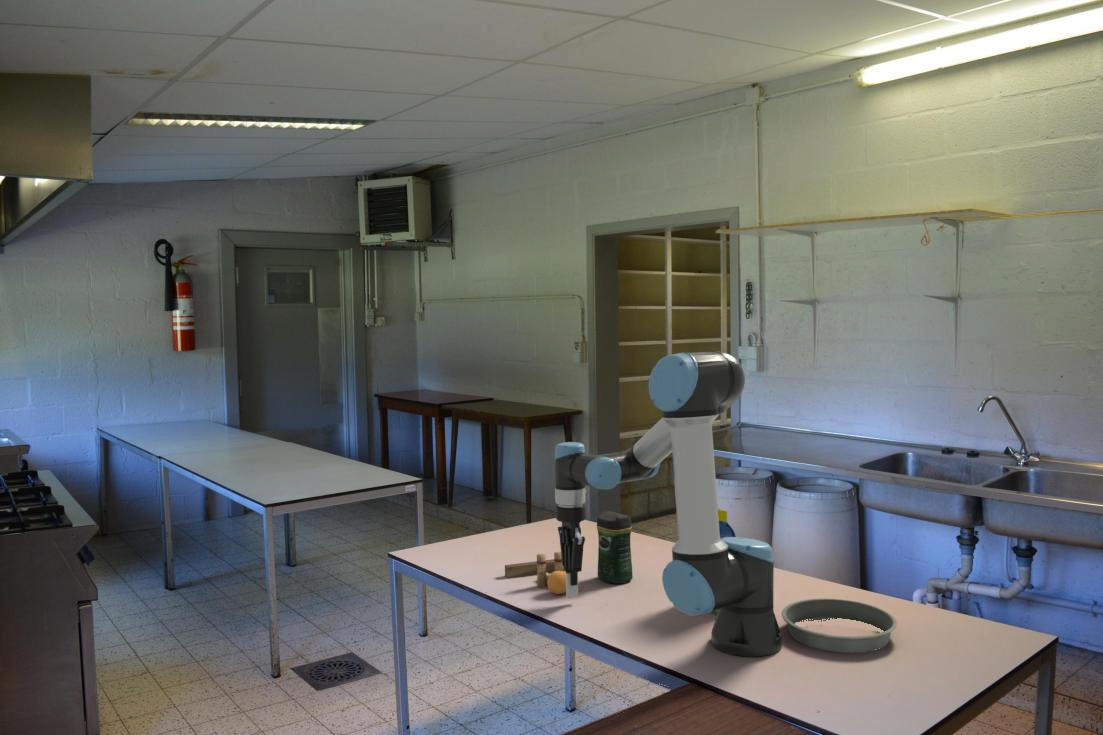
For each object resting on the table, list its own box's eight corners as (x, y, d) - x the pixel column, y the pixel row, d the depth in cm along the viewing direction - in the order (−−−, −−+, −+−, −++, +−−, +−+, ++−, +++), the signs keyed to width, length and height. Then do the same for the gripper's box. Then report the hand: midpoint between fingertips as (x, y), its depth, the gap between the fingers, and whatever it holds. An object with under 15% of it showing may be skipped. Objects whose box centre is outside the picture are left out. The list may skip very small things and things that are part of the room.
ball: (563, 571, 230) (568, 594, 228) (542, 575, 228) (547, 598, 226) (569, 566, 225) (575, 589, 223) (548, 570, 223) (554, 593, 220)
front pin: (557, 578, 230) (547, 569, 238) (549, 580, 229) (538, 571, 237) (558, 587, 230) (547, 578, 238) (549, 589, 229) (539, 580, 237)
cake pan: (760, 625, 201) (760, 606, 201) (845, 610, 210) (845, 592, 209) (828, 665, 178) (828, 643, 178) (922, 646, 187) (922, 626, 187)
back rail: (567, 570, 246) (567, 560, 245) (507, 578, 239) (507, 567, 239) (564, 568, 248) (564, 557, 248) (505, 575, 242) (504, 565, 242)
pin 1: (547, 587, 231) (547, 555, 230) (539, 588, 230) (538, 556, 230) (544, 584, 233) (544, 553, 233) (535, 585, 233) (535, 554, 232)
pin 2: (565, 584, 233) (564, 553, 232) (556, 585, 232) (555, 554, 231) (562, 582, 235) (561, 551, 235) (553, 583, 234) (552, 552, 234)
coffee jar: (637, 580, 235) (636, 513, 234) (615, 586, 230) (614, 518, 229) (614, 572, 243) (613, 507, 242) (592, 578, 238) (591, 511, 237)
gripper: (594, 508, 211) (595, 602, 212) (575, 497, 223) (576, 587, 225) (565, 511, 208) (567, 606, 210) (547, 500, 221) (549, 590, 222)
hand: (572, 596), depth 217 cm, fingers closed
